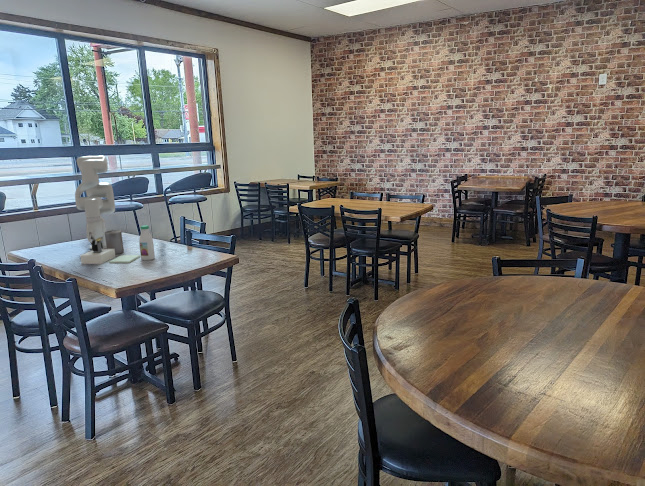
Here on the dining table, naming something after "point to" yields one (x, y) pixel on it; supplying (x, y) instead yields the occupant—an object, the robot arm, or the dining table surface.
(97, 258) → the block
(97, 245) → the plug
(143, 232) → the milk bottle
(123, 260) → the pad
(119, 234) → the grey bin
